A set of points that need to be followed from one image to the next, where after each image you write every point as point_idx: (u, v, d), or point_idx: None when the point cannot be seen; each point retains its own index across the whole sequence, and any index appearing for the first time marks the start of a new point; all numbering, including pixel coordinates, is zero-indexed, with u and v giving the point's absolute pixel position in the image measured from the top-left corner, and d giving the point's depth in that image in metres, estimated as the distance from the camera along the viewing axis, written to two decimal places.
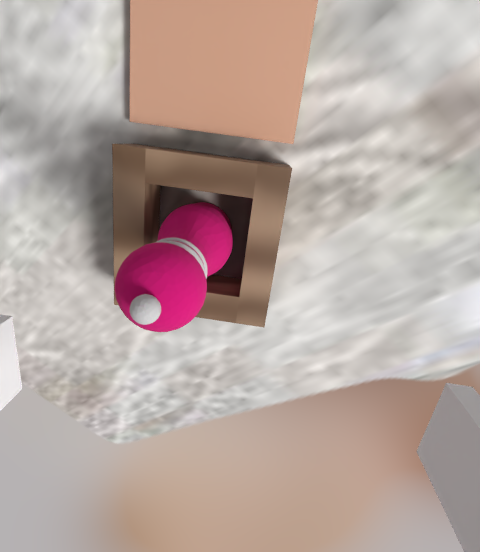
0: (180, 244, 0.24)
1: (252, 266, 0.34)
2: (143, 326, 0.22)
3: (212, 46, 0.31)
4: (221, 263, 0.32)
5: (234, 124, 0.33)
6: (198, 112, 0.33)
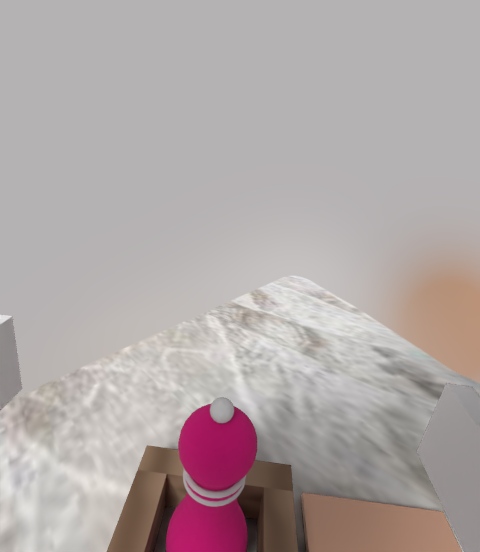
0: (245, 475, 0.27)
1: None
2: (195, 414, 0.26)
3: None
4: None
5: None
6: None
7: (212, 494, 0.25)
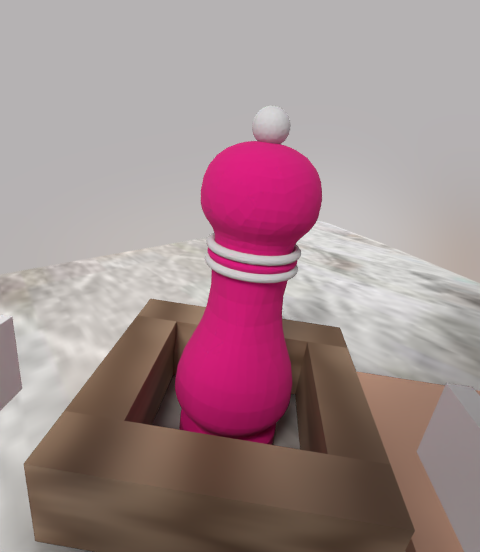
0: (299, 252, 0.18)
1: (191, 446, 0.16)
2: None
3: None
4: (211, 381, 0.18)
5: (406, 480, 0.20)
6: (396, 434, 0.24)
7: (253, 257, 0.16)
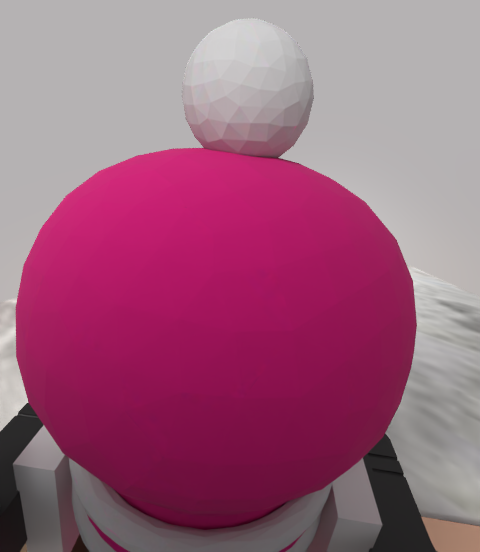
0: None
1: None
2: None
3: None
4: None
5: None
6: None
7: (186, 549, 0.05)
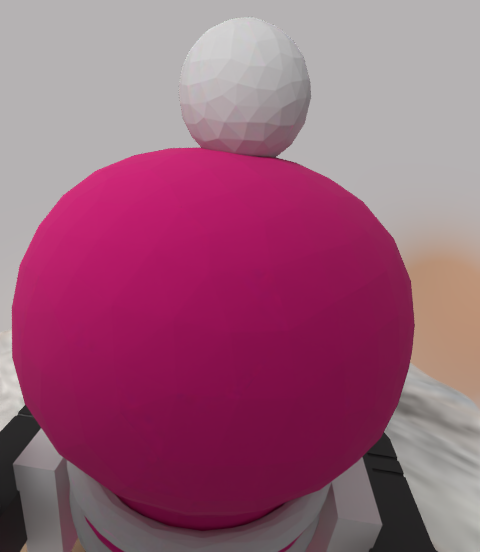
0: None
1: None
2: None
3: None
4: None
5: None
6: None
7: (183, 550, 0.05)
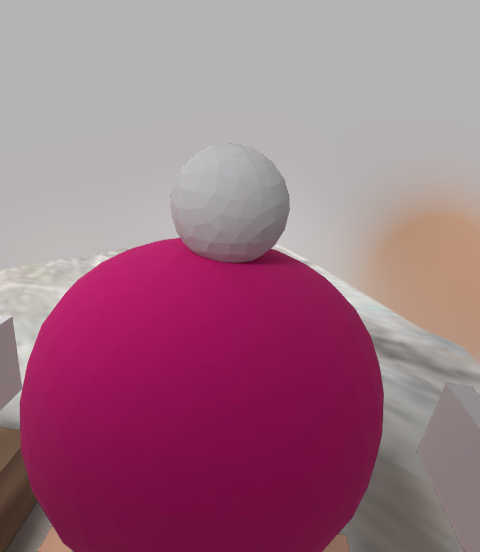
0: None
1: None
2: None
3: None
4: None
5: None
6: None
7: None
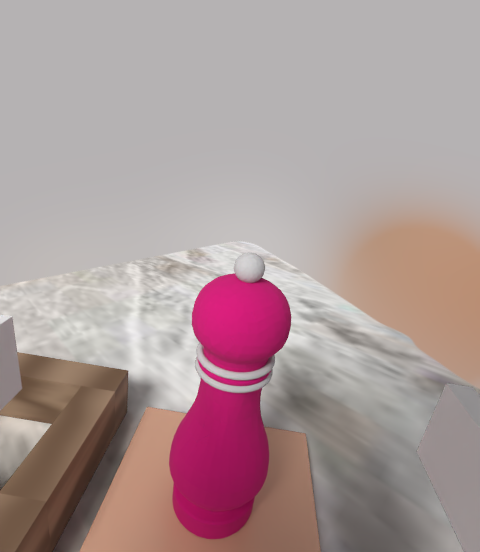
0: (273, 362, 0.21)
1: None
2: (214, 279, 0.21)
3: None
4: (199, 467, 0.22)
5: (113, 509, 0.25)
6: (138, 467, 0.28)
7: (234, 374, 0.20)
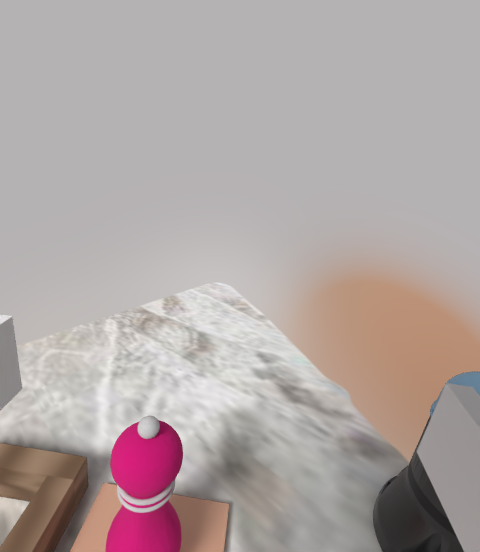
0: (171, 485, 0.30)
1: None
2: (127, 430, 0.29)
3: None
4: None
5: None
6: (90, 542, 0.37)
7: (138, 502, 0.28)
